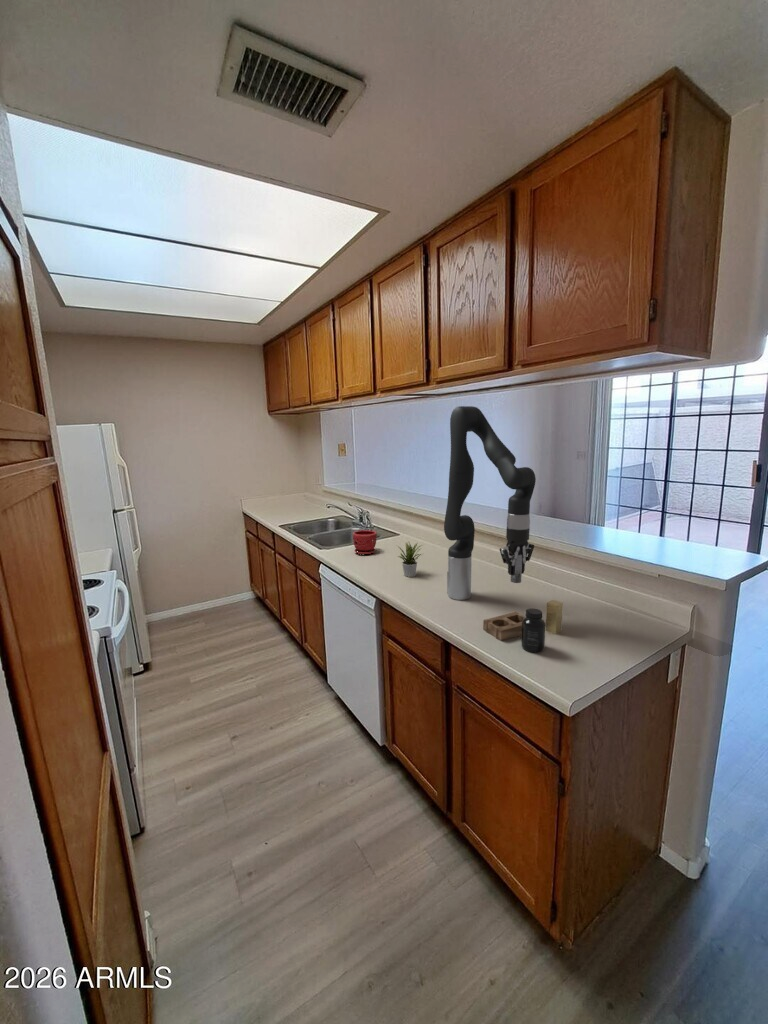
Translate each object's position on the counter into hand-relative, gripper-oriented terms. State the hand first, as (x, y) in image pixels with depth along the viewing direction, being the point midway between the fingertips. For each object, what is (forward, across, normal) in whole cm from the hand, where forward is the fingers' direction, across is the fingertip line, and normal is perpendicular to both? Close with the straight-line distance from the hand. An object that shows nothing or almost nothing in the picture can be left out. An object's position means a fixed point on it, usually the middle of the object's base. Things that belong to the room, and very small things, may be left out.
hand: (516, 573), depth 149 cm
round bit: (+3, 0, 0) cm, 3 cm away
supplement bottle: (+17, +9, +19) cm, 27 cm away
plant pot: (+18, +15, -104) cm, 106 cm away
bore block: (+17, +8, +6) cm, 20 cm away
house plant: (+18, +10, -58) cm, 61 cm away
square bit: (+17, -5, +13) cm, 22 cm away
